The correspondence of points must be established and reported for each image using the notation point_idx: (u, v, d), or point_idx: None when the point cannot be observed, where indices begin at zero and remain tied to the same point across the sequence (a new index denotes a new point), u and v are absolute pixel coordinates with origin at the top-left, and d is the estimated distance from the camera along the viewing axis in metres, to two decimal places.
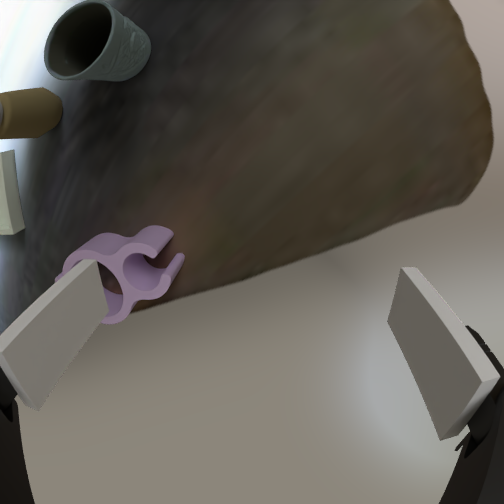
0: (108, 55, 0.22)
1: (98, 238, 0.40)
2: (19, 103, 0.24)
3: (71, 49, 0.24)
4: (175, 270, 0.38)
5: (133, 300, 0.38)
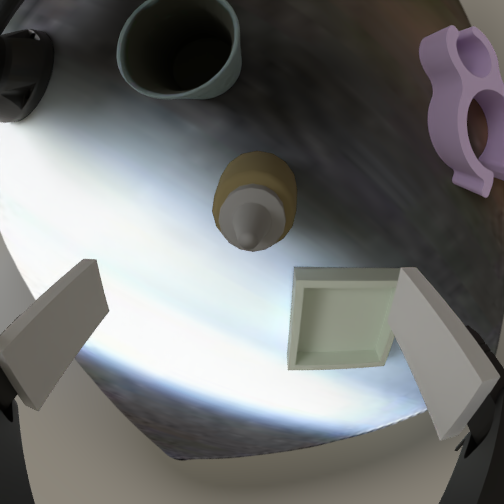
0: None
1: (437, 120, 0.26)
2: (244, 167, 0.23)
3: None
4: None
5: (501, 82, 0.19)
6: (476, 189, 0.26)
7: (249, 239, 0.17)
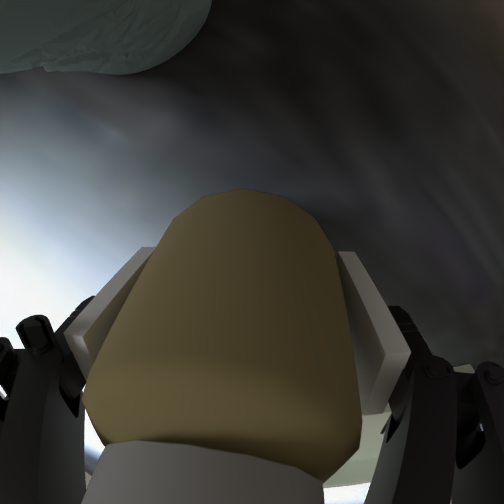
0: None
1: None
2: (170, 303, 0.05)
3: None
4: None
5: None
6: None
7: None
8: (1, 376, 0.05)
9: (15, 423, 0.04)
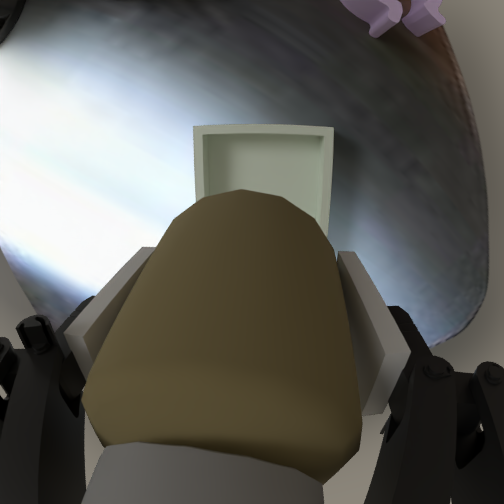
0: None
1: None
2: (169, 305, 0.05)
3: None
4: None
5: None
6: (384, 18, 0.21)
7: None
8: (1, 376, 0.05)
9: (15, 423, 0.04)
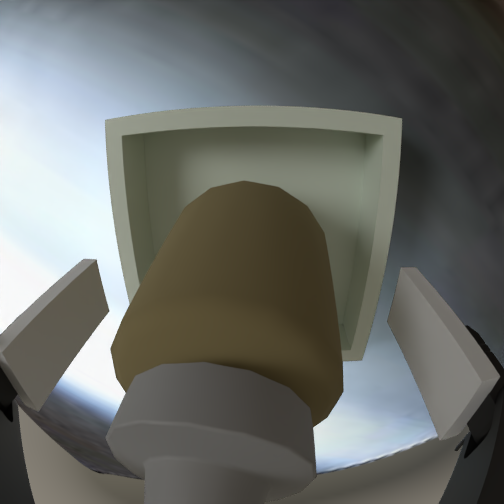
0: None
1: None
2: (190, 263, 0.07)
3: None
4: None
5: None
6: None
7: None
8: None
9: None
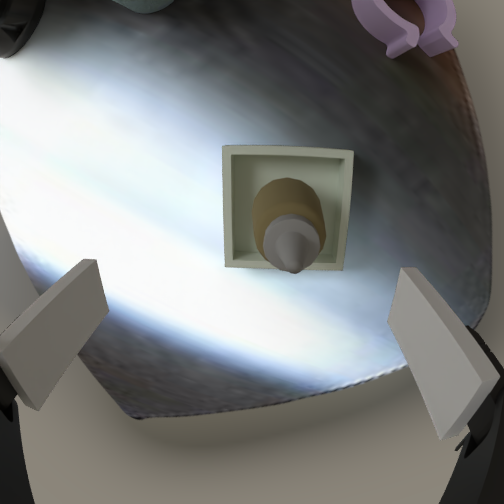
0: None
1: None
2: (282, 196, 0.26)
3: None
4: None
5: None
6: (402, 42, 0.23)
7: (295, 265, 0.20)
8: None
9: None
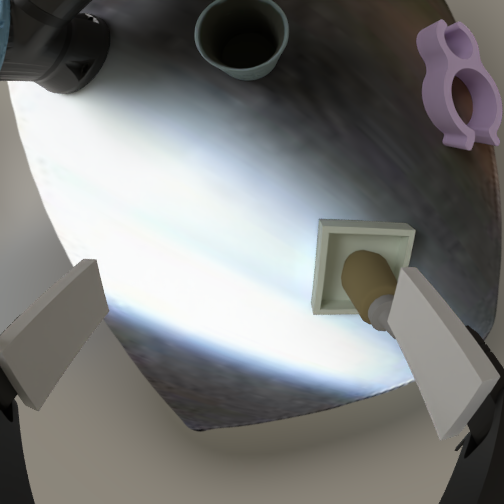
0: None
1: (429, 90, 0.32)
2: (378, 278, 0.35)
3: None
4: None
5: (481, 64, 0.25)
6: (461, 144, 0.32)
7: None
8: None
9: None
